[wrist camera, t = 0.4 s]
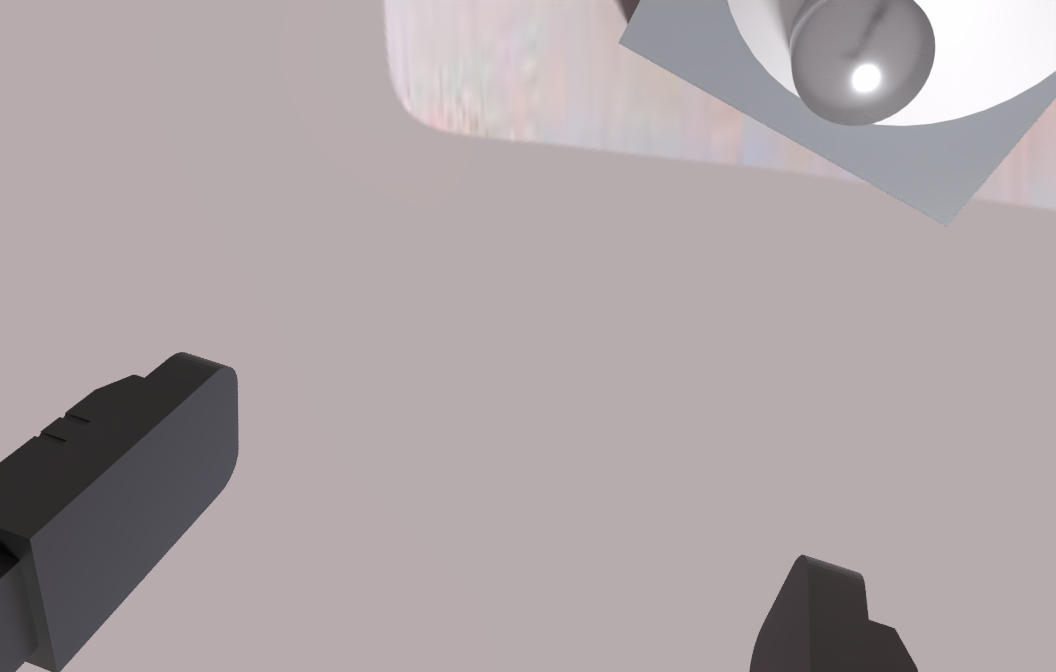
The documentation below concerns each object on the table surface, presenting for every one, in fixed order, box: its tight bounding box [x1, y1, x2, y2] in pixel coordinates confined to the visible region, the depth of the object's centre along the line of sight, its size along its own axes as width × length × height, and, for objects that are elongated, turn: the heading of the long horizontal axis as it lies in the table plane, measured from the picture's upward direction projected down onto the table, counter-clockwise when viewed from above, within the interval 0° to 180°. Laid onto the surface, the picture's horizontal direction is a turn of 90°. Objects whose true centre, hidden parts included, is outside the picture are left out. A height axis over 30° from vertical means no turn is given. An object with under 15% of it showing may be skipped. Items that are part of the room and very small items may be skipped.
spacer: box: [790, 0, 935, 126], centre depth 26 cm, size 4×4×4 cm
